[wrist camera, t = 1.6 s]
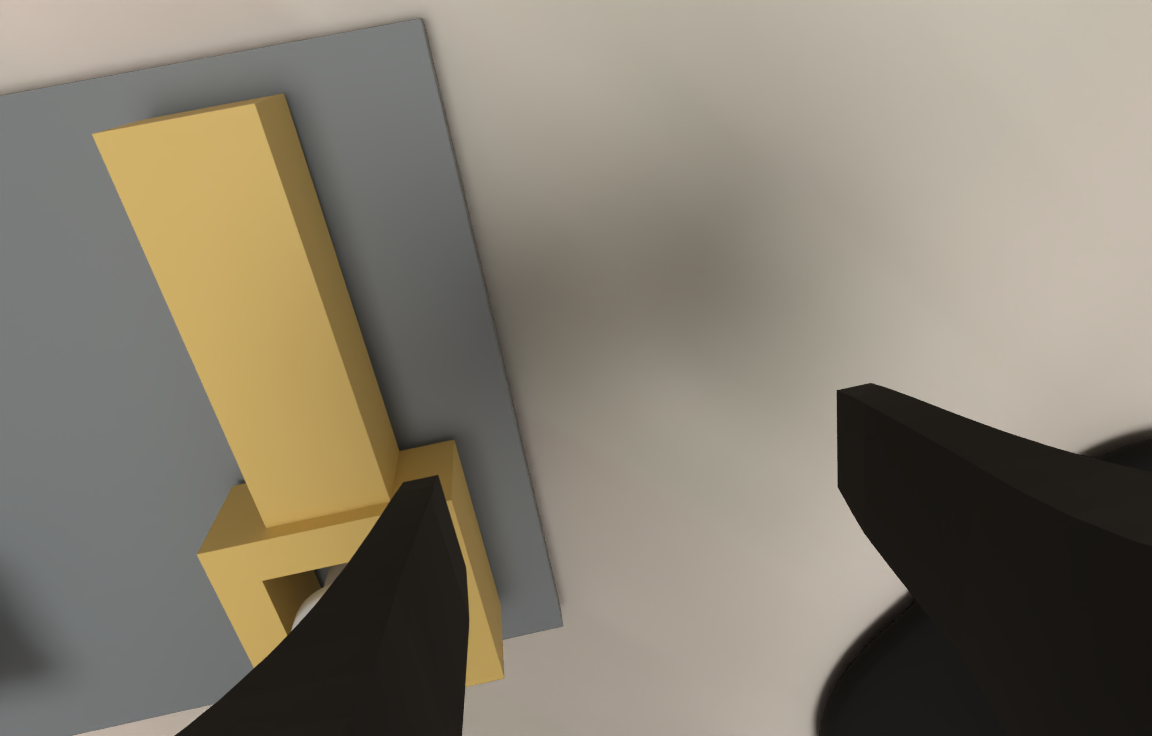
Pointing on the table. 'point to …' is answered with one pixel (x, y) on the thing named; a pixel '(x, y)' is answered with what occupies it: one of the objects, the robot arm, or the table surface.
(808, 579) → the table surface
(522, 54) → the table surface
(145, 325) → the base
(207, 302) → the link
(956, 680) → the desk fan
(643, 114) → the table surface
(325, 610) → the robot arm
